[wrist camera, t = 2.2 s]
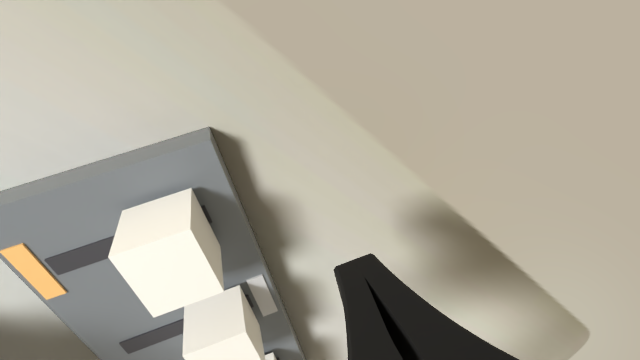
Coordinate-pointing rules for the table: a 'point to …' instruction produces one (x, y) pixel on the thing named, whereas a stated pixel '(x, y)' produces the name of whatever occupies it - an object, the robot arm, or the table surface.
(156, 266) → the tab
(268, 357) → the light grey block
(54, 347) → the table surface
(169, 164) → the switch panel
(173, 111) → the table surface
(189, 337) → the tab
